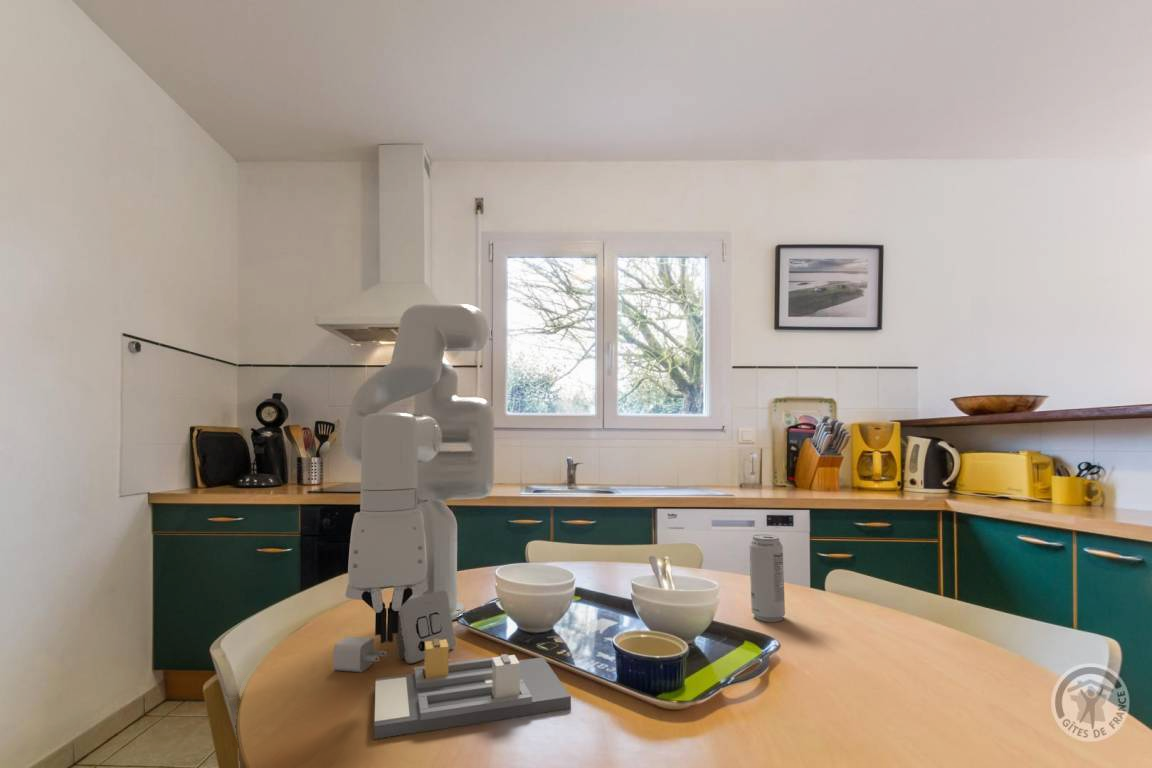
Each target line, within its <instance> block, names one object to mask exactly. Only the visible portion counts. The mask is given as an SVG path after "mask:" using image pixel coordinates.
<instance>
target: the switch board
mask: <svg viewBox="0 0 1152 768" xmlns="http://www.w3.org/2000/svg"><path fill="white" fill-rule="evenodd" d="M507 655H508V656H509V654H507ZM499 657H501V655H500V656H499ZM492 658H493V657H485V658H477V659H469V660H463V661H462V660H461V661H454V662H448V676H443V677H436V678H428V679H425V675H424V673H425V665H424V666H423V665H422V666H414V673H412V674H411V673H410V674H404V675H403V674H402V675H395V676H388V677H387V676H386V677H381V678H375V690H374V691H375V693H374V696H375V697H374V725H373V726H374V729H373V730H374V731H373V734H374V735H373V736H374V737H373V739H374V740H378V739H377V738H380V739H384V738H383V737H387V738H391V737H390V736H393V737H397V736H396V735H399V736H402V735H401V734H406V735H410V734H409V733H412V734H417V732H418V733H424V732H423V731H425V732H430V730H431V731H436V730H442V729H449V728H450V729H451V728H455V727H463V726H470V725H474V724H480V723H481V724H482V723H487V722H492V721H499V720H505V719H512V718H518V717H525V716H531V715H535V714H536V715H538V714H544V713H549V712H556V711H562V710H568V709H571V708H572V697H571V694H570V693H569V692H568V690H567V689H566V687H565V686H564V685H563V683H562V682H561V680H560V679H559V677H558V676H557V674H556V673H555V672H554V669H552V667H551V666H550V664H549V663H548V662H547V660H546V658H545V657H544V656H543V657H534V658H529V659H528V658H526V659H520V660H519V659H517V660H518V661H519V663H520V695H516V696H509V697H502V698H495V699H494V696H493V694H492Z"/></svg>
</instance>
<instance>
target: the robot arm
mask: <svg viewBox="0 0 1152 768" xmlns="http://www.w3.org/2000/svg"><path fill="white" fill-rule="evenodd" d="M488 326H489V325H488V322H487V317H486V315H485V314H484V312H483V311H482V309H480V308H478V307H476V306H473V305H470V304H463V303H421V304H415V305H412V306H410V307H408V308H407V309H406V310H405V311H404V312H403V313H402V315H401V317H400V320H399V325H398V329H397V332H396V333H397V334H396V338H395V343H394V346H393V351H392V355H391V361H390V362H389V363H388V364H387V365H385V366H383V367H382V368H380V369H379V370H377V371H376V372H375V373H374V374H372V375H371V376H370V377H369V378H368V379H367V380H366V381H364V382H363V383H362V384H361V385H360V386H359V387H358V388H357V390H356V391H355V393H354V394H353V396H352V399H351V401H350V403H349V406H348V407H349V408H348V411H347V414H346V418H345V423H344V427H343V432H342V441H341V442H342V449H343V453H344V454H345V456H346V457H347V459H348V460H350V462H353V463H355V464H361V466H360V500H359V501H360V506H359V509H360V511H358V512H355V513H354V515H353V519H352V524H351V531H350V538H349V539H350V540H349V541H350V542H349V551H348V553H349V554H348V563H347V564H348V566H347V577H348V583H347V587H346V590H345V594H344V595H345V597H346V598H348V599H352V600H357V601H359V600H361V601H364V602H365V603H366V604H367V605H368V606H369V607H370V608H371V609H372V610H373V612H374V613H375V619H374V620H375V621H374V624H375V627H374V635H375V636H380V644H385V643H387V642H388V643H393V641H394V634H395V635H396V633H398V620H399V610H400V608H401V606H402V605H403V604H404V603H405V602H406V601H407V600H409V599H412V598H416V597H420V596H423V595H427V594H431V593H434V592H438V591H446V592H447V594H448V600H449V606H450V612H451V617H452V621H454V620H456V619H458V618H457V616H459V615H460V614H462V613H464V612H466V606H465V605H464V603H462V602H460V601H457V600H458V591H457V590H458V523H457V519H456V516H455V515H454V513H453V511H452V510H451V509H450V507H448V505H447V504H446V502H445V501H450V500H480V499H484V498H486V497H488V496H490V495H491V492H492V490H493V487H494V478H495V476H494V474H495V463H494V462H495V421H494V413H493V408H492V406H491V404H490V402H489V401H487V399H485V398H482V397H481V398H480V397H472V396H470V397H469V396H468V397H466V396H465V397H459V395H458V381H459V380H458V373H457V371H456V369H455V368H454V366H453V365H452V364H451V362H449V361H448V359H446V357H444V355H445V352H479V351H481V350H482V349H483V348H484V347H485V345H486V343H487V340H488V333H489V332H488V331H489V327H488ZM412 397H414V400H413V413H408V412H392V411H391V412H381V411H382V410H383V409H384V408H386V407H389V406H390V405H392V404H394V403H397V402H400V401H403V400H407V399H408V398H412ZM442 445H443V446H445V445H446V446H447V445H448V446H449V445H450V446H451V445H467V446H468V447H470V449H471V450H441V448H442ZM391 588H393V592H392V597H391V601H390V602H389V603H388V604H389V606H388V607H386V603H385V602H384V601H383V596H382V595H383V594H382V593H383V592H382V589H391ZM464 614H465V613H464Z"/></svg>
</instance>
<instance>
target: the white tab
mask: <svg viewBox="0 0 1152 768" xmlns="http://www.w3.org/2000/svg"><path fill="white" fill-rule="evenodd" d="M508 655H509V654H507V653H505V654H503V653H502V654H500V656H501V657H500V656H494V657H493V658H492V657H491V658H492V694H493V696H494V699H495V698H502V697H509V696H516V695H520V663H519V661H518V660H519V659H518V658H517V656H516V655H515V654H511V655H509V656H508Z"/></svg>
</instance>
